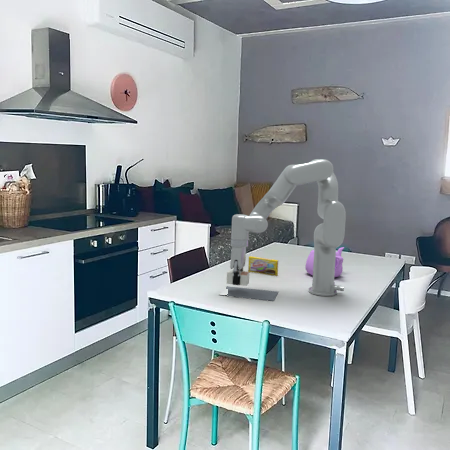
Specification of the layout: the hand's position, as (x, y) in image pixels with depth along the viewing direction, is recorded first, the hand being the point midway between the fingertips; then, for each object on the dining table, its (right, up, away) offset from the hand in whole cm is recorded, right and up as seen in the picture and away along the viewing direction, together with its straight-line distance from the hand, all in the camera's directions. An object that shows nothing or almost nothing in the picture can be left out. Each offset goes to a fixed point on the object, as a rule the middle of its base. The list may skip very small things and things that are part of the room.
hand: (237, 282), depth 204 cm
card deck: (0, 0, 0) cm, 0 cm away
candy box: (+14, 0, +37) cm, 40 cm away
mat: (+5, -5, -1) cm, 7 cm away
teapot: (+46, -1, +37) cm, 59 cm away
